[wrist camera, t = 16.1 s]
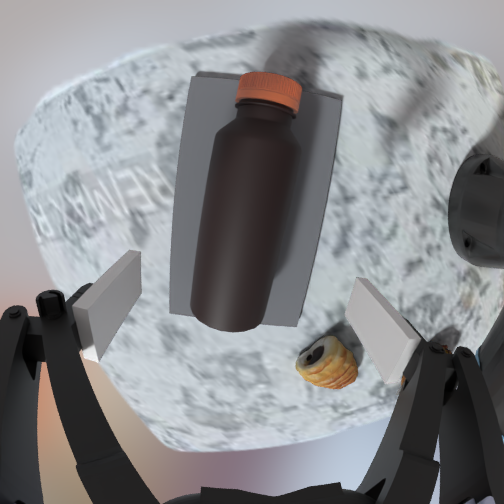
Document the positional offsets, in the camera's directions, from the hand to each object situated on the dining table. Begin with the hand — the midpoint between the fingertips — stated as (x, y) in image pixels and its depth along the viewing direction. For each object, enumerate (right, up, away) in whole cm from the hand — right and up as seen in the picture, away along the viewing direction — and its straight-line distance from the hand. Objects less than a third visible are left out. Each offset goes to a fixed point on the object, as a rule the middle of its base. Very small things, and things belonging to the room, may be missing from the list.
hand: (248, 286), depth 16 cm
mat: (0, +6, +10) cm, 11 cm away
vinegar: (-2, -4, +9) cm, 10 cm away
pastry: (+10, -12, +17) cm, 23 cm away
